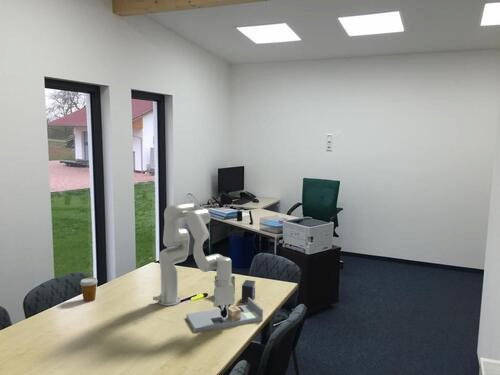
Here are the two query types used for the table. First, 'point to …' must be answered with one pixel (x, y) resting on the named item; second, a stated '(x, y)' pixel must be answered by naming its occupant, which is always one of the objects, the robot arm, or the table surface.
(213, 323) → the trap deck
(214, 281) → the robot arm
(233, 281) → the chalk box
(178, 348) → the table surface
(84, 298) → the disposable coffee cup
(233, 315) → the beech block
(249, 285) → the small box
